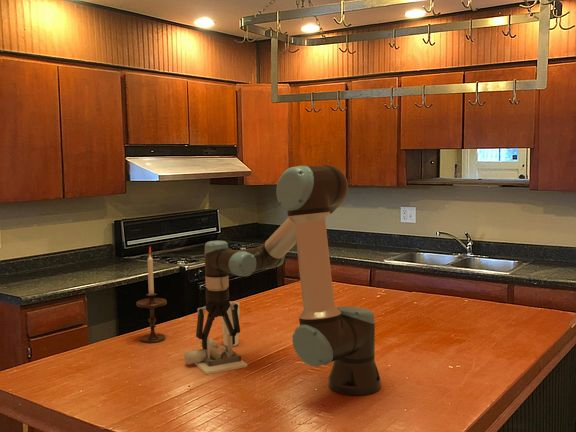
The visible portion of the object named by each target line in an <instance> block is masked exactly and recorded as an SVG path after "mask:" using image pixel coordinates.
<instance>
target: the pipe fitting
mask: <svg viewBox="0 0 576 432" xmlns="http://www.w3.org/2000/svg"><path fill="white" fill-rule="evenodd" d="M225 347H226V346H225V345H218V348H214V347H213V346H210V357H211V358H214V359H217V360H218V359H224V358H228V353H227V352H226V348H225Z"/></svg>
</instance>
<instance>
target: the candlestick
mask: <svg viewBox="0 0 576 432" xmlns="http://www.w3.org/2000/svg"><path fill="white" fill-rule="evenodd" d="M148 249H149V250H148V257H147V283H148V293H147V294H145V296H147V297H148V298H143V299H142V298H141V299H139V300H137V301H136V306H137V307H138V308H144V309H149V313H150V314H149V317H150V318H148V319H147V320H148V323H150V325H149V326H148V327H149V328H150V333H149V334H144V335H142V336H141V337H139V338H140V342H141V343H143V344H158V343H162V342H163V341H165V340H166V335H165V334H163V333H156V331H155V328H156V327H157V326H156V325H157V324H156V322H157V318H155V309H156V308H159V307H164V306H166V305H167V304H168V303H167V302H168V301H167V299H166V298H161V297H155V296H156V295H158V293H155V288H154V287H155V285H154V282H155V281H154V264H153V263H154V260H153V257H152V255H151V254H152V249H151V245H150V246H149V247H148Z"/></svg>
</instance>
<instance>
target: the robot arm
mask: <svg viewBox="0 0 576 432" xmlns="http://www.w3.org/2000/svg"><path fill="white" fill-rule="evenodd" d="M275 190H276V191H275V192H276V198H277V201H278V204H280V206H281V208H282V209H284V210H286V211H287V212H286V213H287V218H286V219H285V220H284V222H283V223H282V224H281V225H280V226H279V227H278V228H277V229H276V230H275V231H274V232H273V233H272V234H271V235H270V236H269V238H268V239H266V240H265V242H263V244H262V245H261V246H257V247H252V248H245V249H238V250H237V249H231V248H230V249H229V243H228V242H227V241H226V240H210V241H207V242H205V244H204V271H205V272H204V273H205V288H206V289H205V303H204V304H205V305H204V306H203V307H197V308H196V311H197V322H196V323H197V324H196V331H195V332H196V333H195V337H196V338H197V339H199V340H201V341H202V346H201V347H202V348H201V349H204V350H205V352H206V357H207V358H208V359H210V340H209V339H208V337H209V334H210V332H211V329H212V325H213V322H214V320H215V318H218V317H221V316H222V317H223V319H224V321H225V324H226V326H227V328H228V331H229V333H230V334H227V346H226V347H227V348H228V354H229V355H230V356H232V355H233V351H234V349H233V347H234V346H233V345H234V344H235V336H236V334H237V333H239V334H240V332H241V327H240V320H239V319H238V312H237V310H238V304H236V303H230V302H231V301H230V290H229V289H230V288H229V287H230V285H229V284H230V283H229V282H230V281H229V275H235V276H237V277H249V276H251V275H252V274H253V273H254V272H259V271H264V270H269V269H275V268H277V267H280V266H282V265H283V264H284V262H285V259H286V254H287V253H288V252H289V251H290V250H291V249H292V248H293V247H294V246H295V245H296V252H297V261H298V270H299V272H298V273H299V280H300V288H301V297H302V307H303V310H302V311H301V312H300V313H299V315H298V319H299V320H298V321H299V323H298V324H299V325H298V326H297V327H296V328H295V329H294V332H293V334H292V336H291V337H292V338H291V339H292V345H293V348H294V351H295V353H296V354H297V357H298V358H300V359H301V361H302V362H303V363H304V364H305V365H308V366H310V367H314V368H315V367H320V366H327V365H330V364H331V363H332V365H331V366H332V367H331V369H330V373H329V376H328V388H330V390H332V391H333V392H335V393H338V394H341V395H347V396H365V395H370V394H374V393H376V392H378V391H379V390H380V389H381V387H382V386H381V383H382V382H381V381H382V379H381V377H380V373H379V370H378V367H377V364H376V359H375V348H376V347H375V345H376V343H375V342H376V341H375V340H376V339H375V338H376V336H375V334H376V333H375V329H376V328H375V327H376V323H375V322H376V320H375V314H374V312H373V311H372V310H370V309H368V308H364V307H359V306H349V305H348V306H347V305H344V306H336V305H335V295H334V287H333V278H332V269H331V261H330V251H329V241H328V233H327V232H328V231H327V223H326V219H327V218H328V216H329V215H332V214H333V213H334V212H335V211H336V210H337V209H338V208H339V207H340V206H341V204H342V203H344V201H345V199H346V197H347V195H348V194H349V193H348V191H349V181H348V179H347V177H346V174H344V172H343V171H342V170H341V169H340V168H338V167H336V166H334V165H330V164H328V165H327V164H323V165H299V166H298V165H297V166H292V167H289V168H287V169H286V170H284V171H283V172H282V174H281V176H280V177H279V178H278V181H277V184H276V189H275ZM229 307H230V309H231V312H232V319H233V325H234V329H233V327H232V324H231V322H230V319H229V316H228V314H227V310H228V309H229ZM206 311H207V317H206V321H204V320H205V314H206ZM204 322H205V324H204Z"/></svg>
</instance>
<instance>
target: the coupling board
mask: <svg viewBox="0 0 576 432" xmlns="http://www.w3.org/2000/svg"><path fill="white" fill-rule="evenodd" d="M208 339H209V340H210V346H213V347H214V348H218V347H219V345H218V343H217V342H215V340H213V339H212V338H211V337H209V336H208ZM200 346H201V347H202V340H200ZM224 347H225V348H226V352H227V353H228V348H227V346H224ZM183 355H184V361H185V364H186V365H191V364H192V365H193V364H194V365H195V366H196V367H197V368H199V370H200V371H202V373H204V374H205V375H211V374H217V373H223V372H226V371H232V370H238V369H242V368H248V363H246V362H245V361H243V359H242V356H241V355H239V354H238V353H237V352H236V351H234V350H233V355H232V356H230V355H229V354H228V358H224V359H218V360H217V359H214V358H211V357H210V359H208V358H207V357H206V352H205V350H204V349H203V348H201V349H199V348H198V349H195V350H188V351H184V354H183Z"/></svg>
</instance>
